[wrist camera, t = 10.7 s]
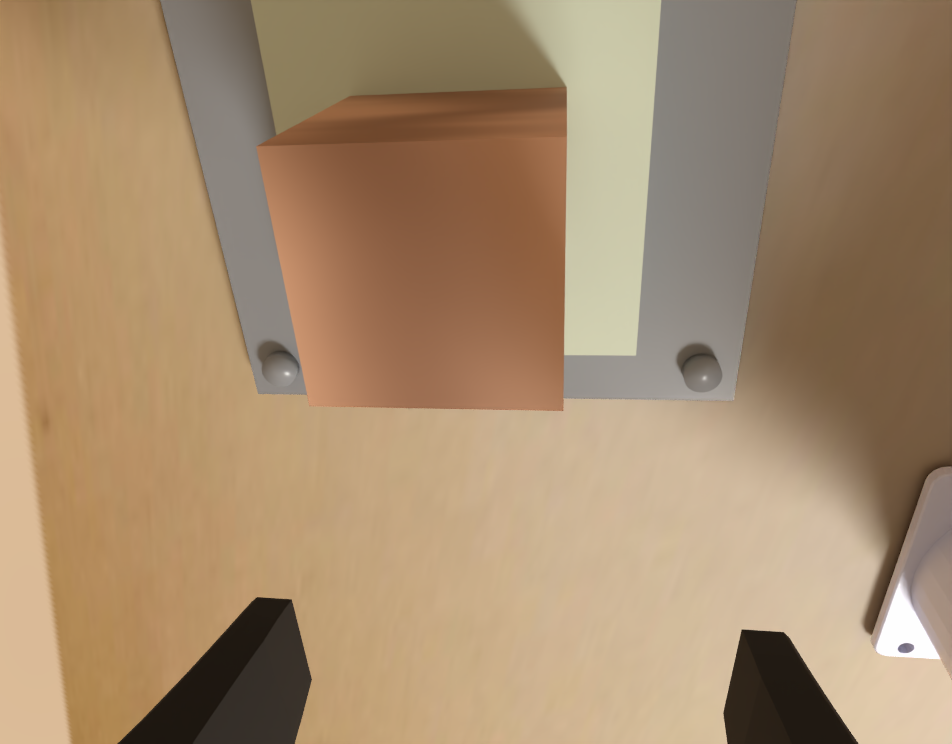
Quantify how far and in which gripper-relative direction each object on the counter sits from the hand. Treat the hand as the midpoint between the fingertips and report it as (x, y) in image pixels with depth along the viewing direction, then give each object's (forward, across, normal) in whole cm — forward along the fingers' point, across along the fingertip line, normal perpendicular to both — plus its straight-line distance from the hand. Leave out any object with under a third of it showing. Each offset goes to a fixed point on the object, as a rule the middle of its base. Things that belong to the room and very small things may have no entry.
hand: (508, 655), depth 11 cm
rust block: (+8, +2, -5) cm, 9 cm away
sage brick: (+10, +2, -6) cm, 12 cm away
